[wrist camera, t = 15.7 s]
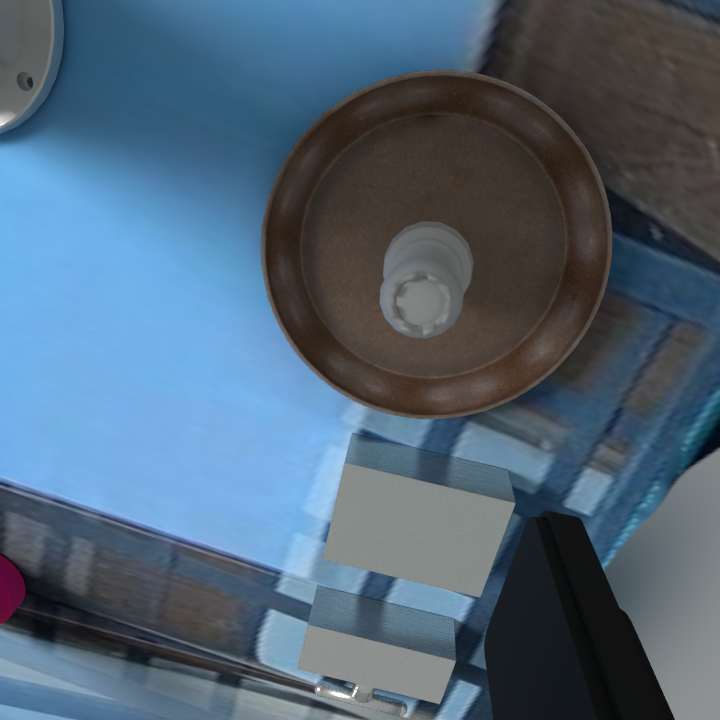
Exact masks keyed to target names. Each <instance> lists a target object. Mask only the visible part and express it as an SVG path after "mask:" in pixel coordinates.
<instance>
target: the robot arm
mask: <svg viewBox="0 0 720 720" xmlns="http://www.w3.org/2000/svg"><path fill="white" fill-rule="evenodd" d="M63 41H64V19H63V7H62V0H0V134H1V133H4V132H6V131H8V130H11V129H13V128H16V127H18V126H19V125H20V124H22V123H23V122H24V121H26V120H27V119H28V118H30V117H31V116H32V115H33V114H34V113H35V112H36V111H37V109H38V108H39V107H40V106H41V105H42V103H43V102H44V101H45V100H46V98H47V96H48V94H49V92H50V90H51V88H52V86H53V84H54V82H55V80H56V77H57V74H58V70H59V66H60V63H61V59H62V53H63ZM484 652H485V661H486V668H487V676H488V683H489V691H490V698H491V705H492V713H493V720H675V719H674V717H673V714H672V712H671V710H670V708H669V705H668V703H667V701H666V699H665V696H664V694H663V692H662V689H661V687H660V685H659V683H658V681H657V678H656V676H655V674H654V671H653V669H652V667H651V665H650V662H649V660H648V658H647V656H646V653H645V651H644V649H643V647H642V644H641V642H640V640H639V638H638V635H637V633H636V631H635V629H634V626H633V624H632V622H631V620H630V619H629V617H628V615H627V614H626V613H625V612H624V611H623V610H621V609H620V608H619V606H618V604H617V602H616V599H615V597H614V594H613V592H612V590H611V587H610V585H609V583H608V580H607V578H606V576H605V573H604V571H603V569H602V566H601V564H600V562H599V559H598V557H597V555H596V552H595V550H594V548H593V545H592V543H591V541H590V538H589V536H588V534H587V532H586V529H585V527H584V525H583V522H582V521H581V519H580V518H578V517H576V516H571V515H566V514H561V513H556V512H551V511H547V510H545V511H543V512H542V513H541V514H540V516H539V518H537V517H533V516H532V517H530V518H529V519H528V521H527V523H526V526H525V529H524V531H523V534H522V537H521V539H520V542H519V545H518V547H517V550H516V553H515V555H514V558H513V561H512V564H511V566H510V569H509V572H508V574H507V577H506V580H505V582H504V585H503V588H502V591H501V593H500V596H499V599H498V601H497V604H496V607H495V609H494V612H493V615H492V617H491V620H490V623H489V626H488V628H487V631H486V636H485V644H484Z"/></svg>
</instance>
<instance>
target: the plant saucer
mask: <svg viewBox="0 0 720 720" xmlns="http://www.w3.org/2000/svg"><path fill="white" fill-rule="evenodd" d="M422 221H427V222H441V223H443V224H445V225H447V226H449V227H451V228H453V229H455V230H457V231H458V232H459V233H460V235H461V236H462V237H463V238H464V239H465V241H466V242H467V243H468V244H469V248H470V251H471V254H472V258H473V261H474V262H473V270H472V279H471V283H470V284H469V286H468V288H467V290H466V291H465V293H464V296H463V305H462V311H461V313H460V314H459V316H458V318H457V320H456V322H455V323H454V325H452V326H451V327H450V328H448V329H447V330H446V331H445V332H443V333H442V334H440V335H437V336H433V337H430V338H426V339H424V338H413V337H408V336H406V335H404V334H402V333H400V332H398V331H396V330H395V329H394V328H393V327H392V326H391V325H390V323H389V322H388V321H387V320H386V319H385V317H384V314H383V311H382V309H381V306H380V289H381V286H382V284H383V282H384V277H383V269H384V258H385V253H386V251H387V249H388V247H389V245H390V243H391V241H392V239H393V238H394V237H395V236H396V235H398V234H399V233H400V232H401V231H402V230H403V229H404V228H405V227H408V226H411V225H413V224H416V223H419V222H422ZM611 257H612V224H611V215H610V210H609V205H608V200H607V196H606V192H605V189H604V186H603V183H602V180H601V177H600V175H599V172H598V170H597V168H596V166H595V164H594V162H593V160H592V158H591V156H590V154H589V152H588V151H587V149H586V148H585V146H584V145H583V143H582V142H581V141H580V139H579V138H578V137H577V135H576V134H575V133H574V132H573V130H572V129H571V128H570V127H569V126H568V125H567V124H566V123H565V122H564V121H563V120H562V119H561V118H560V116H559V115H558V114H556V113H555V112H554V111H553V110H552V109H550V108H549V107H548V106H547V105H545V104H544V103H543V102H541V101H540V100H538V99H537V98H535V97H534V96H532V95H531V94H529V93H527V92H526V91H524V90H522V89H520V88H518V87H516V86H513V85H511V84H509V83H507V82H504V81H501V80H498V79H495V78H492V77H489V76H486V75H481V74H477V73H471V72H465V71H455V70H427V71H419V72H413V73H408V74H402V75H398V76H394V77H390V78H387V79H384V80H381V81H378V82H375V83H373V84H371V85H368V86H366V87H364V88H362V89H360V90H357V91H356V92H354V93H352V94H350V95H348V96H347V97H345V98H344V99H342V100H341V101H339V102H338V103H336V104H335V105H334V106H332V107H331V108H330V109H329V110H327V111H326V112H325V113H323V114H322V115H321V116H320V117H319V118H318V119H317V120H316V121H315V122H314V123H313V124H312V125H311V126H310V127H309V128H308V130H307V131H306V132H305V133H304V134H303V135H302V137H301V138H300V139H299V140H298V142H297V143H296V144H295V146H294V147H293V149H292V150H291V152H290V153H289V154H288V156H287V158H286V159H285V161H284V163H283V165H282V166H281V168H280V170H279V173H278V175H277V177H276V179H275V181H274V184H273V186H272V189H271V192H270V195H269V198H268V201H267V205H266V209H265V214H264V219H263V225H262V234H261V262H262V271H263V278H264V284H265V288H266V292H267V296H268V299H269V302H270V305H271V308H272V311H273V314H274V316H275V318H276V321H277V323H278V325H279V327H280V329H281V331H282V332H283V334H284V336H285V338H286V339H287V341H288V343H289V344H290V346H291V347H292V348H293V350H294V351H295V352H296V353H297V355H298V356H299V357H300V358H301V360H302V361H303V362H304V363H305V364H306V365H307V366H308V367H309V368H310V369H311V370H312V371H313V372H314V373H315V374H316V375H317V376H318V377H319V378H320V379H322V380H323V381H324V382H325V383H327V384H328V385H329V386H330V387H332V388H333V389H335V390H336V391H338V392H339V393H341V394H343V395H345V396H346V397H348V398H350V399H352V400H353V401H355V402H357V403H359V404H362V405H364V406H366V407H369V408H371V409H374V410H377V411H380V412H383V413H387V414H391V415H397V416H402V417H408V418H417V419H446V418H454V417H462V416H467V415H471V414H475V413H479V412H482V411H486V410H488V409H491V408H494V407H497V406H499V405H502V404H504V403H506V402H509V401H511V400H513V399H515V398H517V397H518V396H520V395H521V394H523V393H525V392H527V391H529V390H530V389H531V388H533V387H534V386H536V385H537V384H538V383H540V382H541V381H542V380H544V379H545V378H546V377H547V376H549V375H550V374H551V373H552V372H553V371H554V370H555V369H556V368H558V367H559V366H560V365H561V363H562V362H563V361H564V360H565V359H566V358H567V357H568V356H569V354H570V353H571V352H572V351H573V350H574V348H575V347H576V346H577V345H578V343H579V342H580V340H581V339H582V337H583V336H584V334H585V333H586V331H587V330H588V328H589V326H590V324H591V322H592V320H593V319H594V317H595V315H596V313H597V310H598V308H599V306H600V303H601V300H602V298H603V295H604V292H605V288H606V285H607V281H608V275H609V271H610V265H611Z"/></svg>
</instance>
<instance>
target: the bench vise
mask: <svg viewBox="0 0 720 720" xmlns="http://www.w3.org/2000/svg"><path fill="white" fill-rule="evenodd" d="M515 504H516V502H515V498H514V494H513V490H512V486H511V482H510V478H509V474H508V470H506V469H502V468H498V467H494V466H489V465H485V464H481V463H477V462H472V461H468V460H464V459H460V458H455V457H451V456H447V455H443V454H438V453H434V452H430V451H426V450H421V449H417V448H413V447H409V446H404V445H400V444H396V443H392V442H387V441H383V440H379V439H375V438H370V437H366V436H362V435H358V434H354V433H352V435H351V439H350V443H349V447H348V451H347V455H346V459H345V463H344V467H343V472H342V476H341V481H340V485H339V489H338V494H337V498H336V503H335V507H334V511H333V516H332V520H331V525H330V529H329V533H328V538H327V542H326V547H325V551H324V555H323V560H327V561H331V562H336V563H340V564H344V565H348V566H352V567H356V568H360V569H364V570H369V571H373V572H377V573H381V574H385V575H389V576H393V577H398V578H402V579H406V580H410V581H414V582H418V583H422V584H427V585H431V586H435V587H439V588H443V589H447V590H451V591H456V592H460V593H464V594H468V595H472V596H476V597H480V596H481V594H482V591H483V589H484V586H485V583H486V581H487V578H488V575H489V573H490V570H491V567H492V565H493V562H494V559H495V557H496V554H497V551H498V549H499V546H500V544H501V541H502V538H503V536H504V533H505V530H506V528H507V525H508V522H509V520H510V517H511V514H512V512H513V509H514V507H515ZM455 663H456V651H455V633H454V619H452V618H448V617H444V616H440V615H436V614H432V613H428V612H424V611H420V610H415V609H411V608H407V607H403V606H399V605H395V604H391V603H387V602H382V601H378V600H374V599H370V598H366V597H362V596H358V595H354V594H350V593H345V592H341V591H337V590H333V589H329V588H325V587H321V586H317V589H316V593H315V597H314V601H313V605H312V609H311V613H310V617H309V622H308V626H307V630H306V635H305V639H304V643H303V648H302V652H301V657H300V661H299V665H298V669H300V670H304V671H308V672H312V673H316V674H320V675H324V676H328V677H332V678H336V679H340V680H344V681H348V682H352V683H354V684H353V687H352V688H349V687H345V686H341V685H337V684H333V683H329V682H325V681H319V682H317V683H316V685H315V688H314V689H315V693H316V694H317V695H318V696H320V697H324V698H328V699H332V700H336V701H340V702H344V703H348V704H352V705H357V706H361V707H365V708H369V709H373V710H377V711H381V712H385V713H389V714H393V715H397V716H403V715H405V714H406V712H407V705H406V703H405V702H404V701H402V700H398V699H394V698H389V697H385V696H381V695H377V694H374V691H375V688H377V689H381V690H385V691H389V692H393V693H397V694H401V695H405V696H409V697H413V698H417V699H421V700H425V701H429V702H433V703H438V704H440V702H441V700H442V697H443V694H444V692H445V689H446V686H447V684H448V681H449V678H450V676H451V673H452V671H453V668H454V665H455Z"/></svg>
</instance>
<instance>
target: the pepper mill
mask: <svg viewBox="0 0 720 720" xmlns="http://www.w3.org/2000/svg"><path fill="white" fill-rule="evenodd" d="M25 592H26V587H25V583H24V579H23V577H22V575H21V574H20V572H19V571H18V569H17V568H16V567H15V566H14V565H13V564H12V563H11V562H10V561H9V560H7V559H6V558H5V557H3V556H1V555H0V624H2V623H3V622H5V621H6V620H7V619H8V618H9V617H10V616H11V615H12V614H13V613H14V611H15V610H16V609H17V608H18V607H19V606H20V605H21V603H22V602H23V600H24V598H25Z"/></svg>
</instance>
